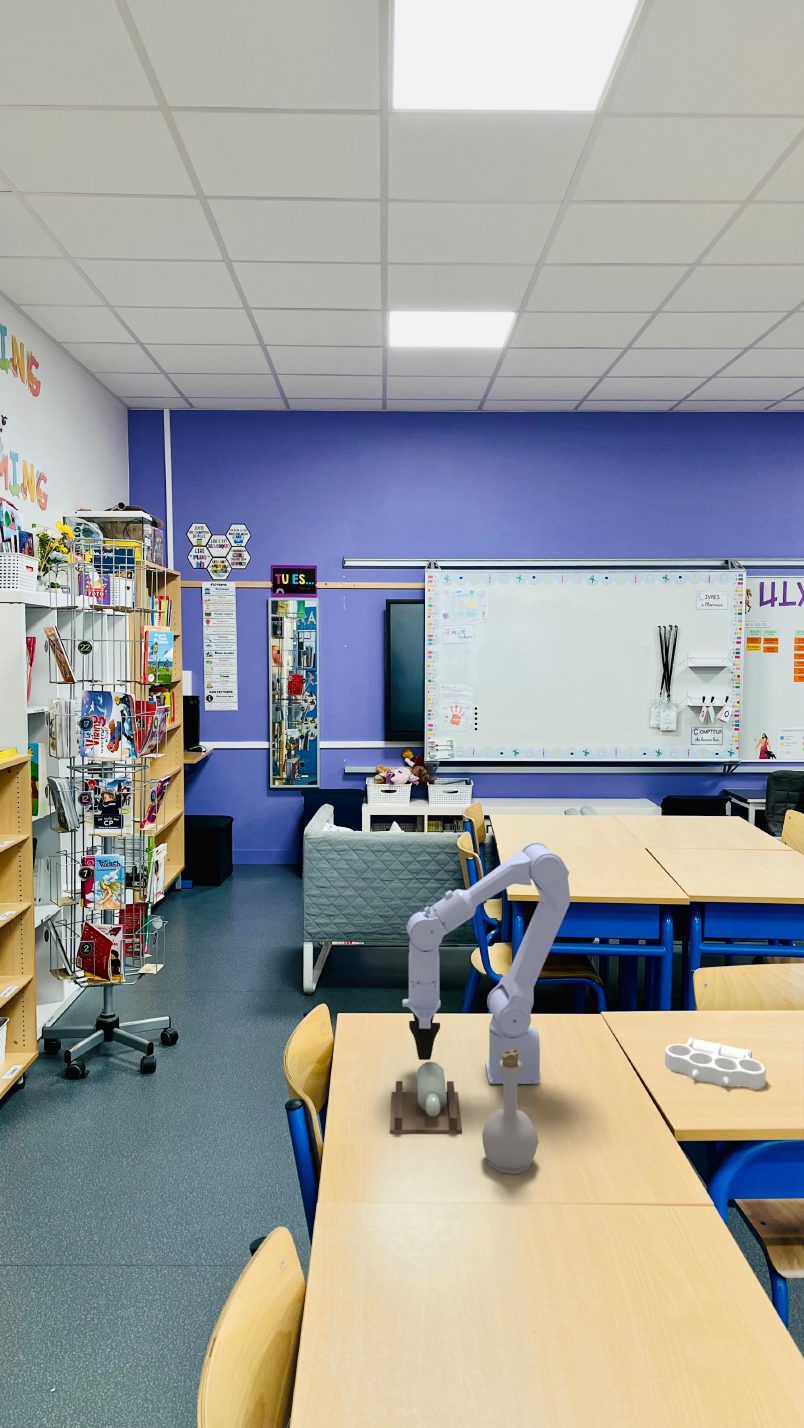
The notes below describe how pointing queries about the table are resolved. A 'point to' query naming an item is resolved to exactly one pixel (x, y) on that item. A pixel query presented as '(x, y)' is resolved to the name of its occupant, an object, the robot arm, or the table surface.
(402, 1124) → the walnut cradle
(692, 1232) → the table surface
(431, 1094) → the sage bottle
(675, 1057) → the knuckle duster
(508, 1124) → the potion bottle
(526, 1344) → the table surface
